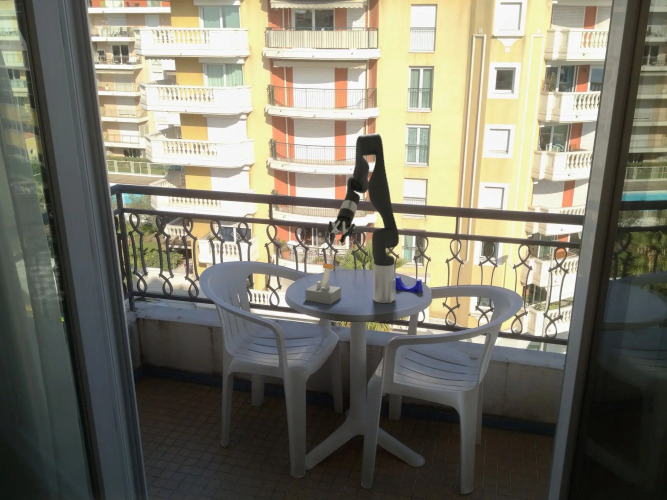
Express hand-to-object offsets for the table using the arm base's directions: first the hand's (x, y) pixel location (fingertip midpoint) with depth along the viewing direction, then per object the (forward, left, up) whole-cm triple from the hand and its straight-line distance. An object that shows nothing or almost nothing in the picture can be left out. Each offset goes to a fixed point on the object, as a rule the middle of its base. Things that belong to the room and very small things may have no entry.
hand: (336, 241), depth 276 cm
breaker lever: (0, +13, -19) cm, 23 cm away
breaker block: (0, +13, -24) cm, 27 cm away
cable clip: (-30, -17, -25) cm, 43 cm away
